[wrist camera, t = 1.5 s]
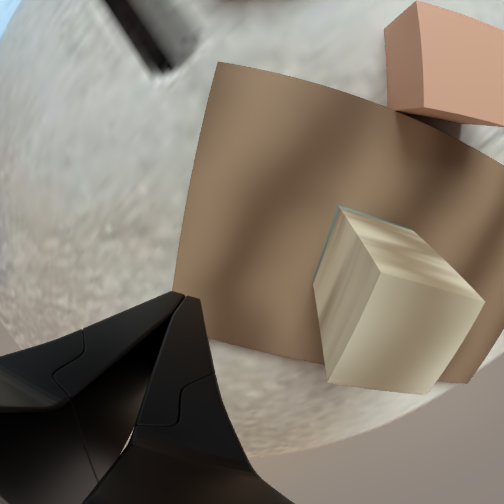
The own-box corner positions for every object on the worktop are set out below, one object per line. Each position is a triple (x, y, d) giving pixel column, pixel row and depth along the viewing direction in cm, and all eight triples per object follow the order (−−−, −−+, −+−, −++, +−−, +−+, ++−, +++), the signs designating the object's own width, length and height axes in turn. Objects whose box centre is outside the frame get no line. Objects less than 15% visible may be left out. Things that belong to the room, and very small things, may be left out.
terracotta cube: (458, 46, 13) (504, 31, 8) (461, 123, 15) (510, 127, 10) (383, 29, 13) (416, 0, 9) (386, 111, 15) (423, 107, 10)
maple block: (411, 229, 16) (485, 301, 9) (382, 298, 18) (426, 395, 10) (338, 205, 16) (380, 272, 9) (312, 280, 18) (326, 382, 10)
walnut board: (548, 198, 15) (558, 203, 14) (462, 374, 21) (467, 383, 20) (222, 65, 15) (217, 61, 14) (173, 315, 21) (167, 325, 20)
